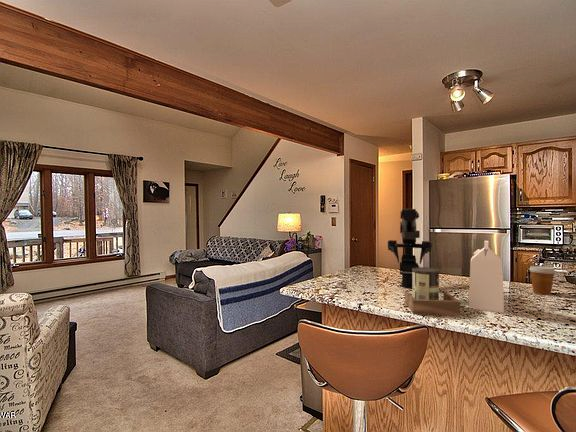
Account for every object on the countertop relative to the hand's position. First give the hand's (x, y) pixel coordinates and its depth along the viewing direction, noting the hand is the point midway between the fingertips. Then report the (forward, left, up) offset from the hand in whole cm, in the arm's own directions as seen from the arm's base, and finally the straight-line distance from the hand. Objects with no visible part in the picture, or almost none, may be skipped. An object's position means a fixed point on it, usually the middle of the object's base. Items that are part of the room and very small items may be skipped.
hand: (409, 263), depth 144 cm
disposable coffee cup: (-51, +35, -15) cm, 64 cm away
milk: (-9, +28, -15) cm, 33 cm away
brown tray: (+10, +15, -15) cm, 24 cm away
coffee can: (+6, +11, -15) cm, 19 cm away
